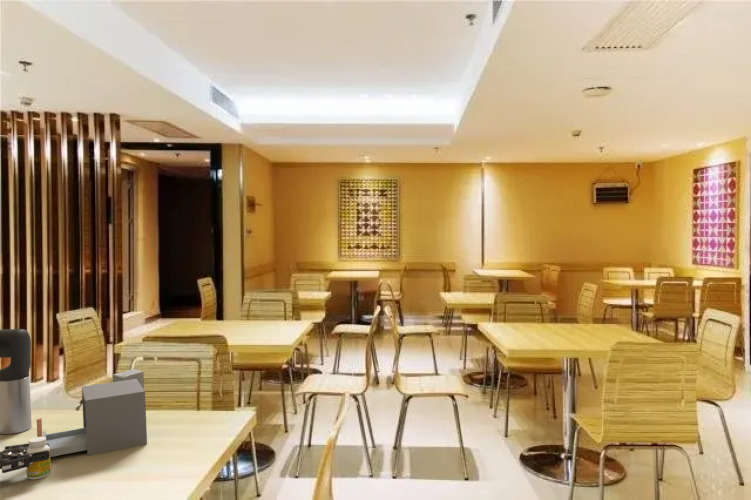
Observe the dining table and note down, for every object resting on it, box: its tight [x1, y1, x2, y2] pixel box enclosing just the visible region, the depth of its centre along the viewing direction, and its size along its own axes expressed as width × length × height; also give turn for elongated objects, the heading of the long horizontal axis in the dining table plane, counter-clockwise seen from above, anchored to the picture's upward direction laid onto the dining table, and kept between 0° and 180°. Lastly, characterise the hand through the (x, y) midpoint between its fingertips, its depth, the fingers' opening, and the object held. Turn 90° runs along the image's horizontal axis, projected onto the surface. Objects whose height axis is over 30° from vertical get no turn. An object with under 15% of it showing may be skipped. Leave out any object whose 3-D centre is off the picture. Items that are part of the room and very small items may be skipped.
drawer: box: [36, 417, 87, 458], centre depth 169 cm, size 15×16×11 cm
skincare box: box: [112, 368, 145, 390], centre depth 198 cm, size 8×7×16 cm
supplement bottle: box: [26, 436, 52, 480], centre depth 151 cm, size 5×5×10 cm
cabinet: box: [81, 379, 148, 456], centre depth 175 cm, size 18×16×16 cm
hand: (49, 450), depth 152 cm, fingers closed on supplement bottle, 5 cm apart
